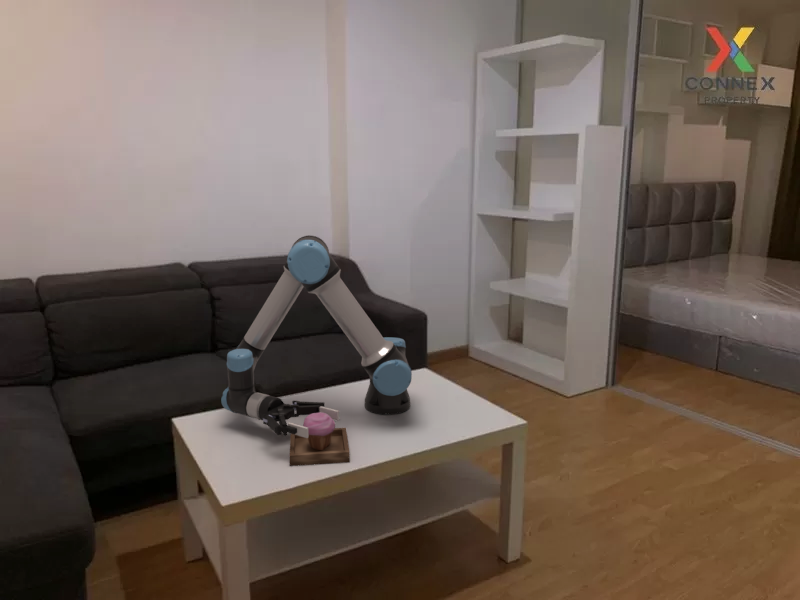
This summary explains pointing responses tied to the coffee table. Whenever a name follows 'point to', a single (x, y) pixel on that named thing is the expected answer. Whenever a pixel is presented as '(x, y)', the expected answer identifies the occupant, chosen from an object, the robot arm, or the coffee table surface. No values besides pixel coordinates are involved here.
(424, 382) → the coffee table surface
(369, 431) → the coffee table surface
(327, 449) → the serving tray
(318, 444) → the cupcake
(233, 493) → the coffee table surface
